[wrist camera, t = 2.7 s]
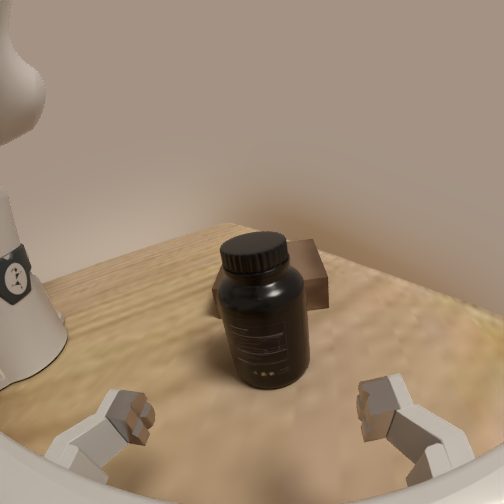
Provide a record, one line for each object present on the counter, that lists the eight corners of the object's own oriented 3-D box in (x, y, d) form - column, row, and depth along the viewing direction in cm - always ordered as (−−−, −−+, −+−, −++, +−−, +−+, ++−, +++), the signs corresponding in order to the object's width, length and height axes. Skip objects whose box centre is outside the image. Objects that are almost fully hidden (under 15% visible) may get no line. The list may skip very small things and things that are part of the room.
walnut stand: (218, 318, 33) (211, 289, 31) (233, 272, 45) (228, 248, 44) (328, 307, 31) (327, 277, 30) (314, 263, 43) (312, 238, 42)
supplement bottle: (244, 341, 28) (222, 230, 24) (311, 340, 27) (302, 223, 22) (227, 390, 22) (191, 263, 18) (308, 392, 20) (300, 256, 16)
